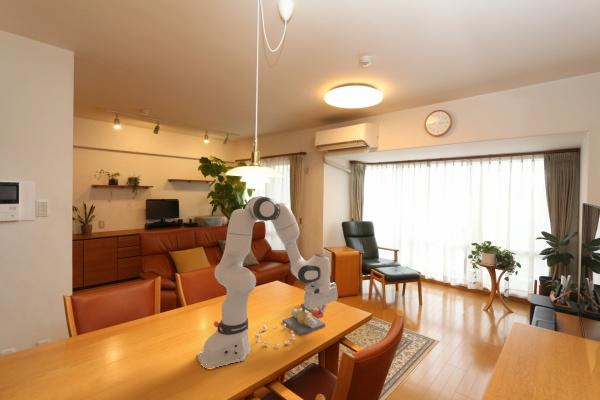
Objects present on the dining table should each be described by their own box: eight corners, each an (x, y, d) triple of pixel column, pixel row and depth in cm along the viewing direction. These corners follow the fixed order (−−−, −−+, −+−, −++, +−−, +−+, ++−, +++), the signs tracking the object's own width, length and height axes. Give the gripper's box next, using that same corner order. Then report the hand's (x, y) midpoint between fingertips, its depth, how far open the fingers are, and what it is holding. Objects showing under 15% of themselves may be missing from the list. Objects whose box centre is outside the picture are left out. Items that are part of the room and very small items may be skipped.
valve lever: (299, 308, 148) (299, 304, 148) (304, 306, 150) (304, 302, 150) (318, 318, 135) (318, 314, 135) (323, 317, 137) (323, 313, 137)
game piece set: (250, 333, 139) (250, 326, 138) (286, 324, 148) (286, 317, 148) (263, 354, 121) (263, 345, 121) (302, 342, 131) (303, 334, 130)
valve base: (301, 335, 136) (301, 317, 136) (282, 322, 150) (282, 306, 150) (325, 326, 146) (325, 309, 145) (305, 314, 159) (305, 299, 159)
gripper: (332, 280, 148) (332, 305, 149) (301, 288, 136) (302, 315, 137) (340, 283, 143) (340, 309, 144) (309, 292, 131) (310, 320, 132)
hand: (321, 312), depth 140 cm, fingers closed
